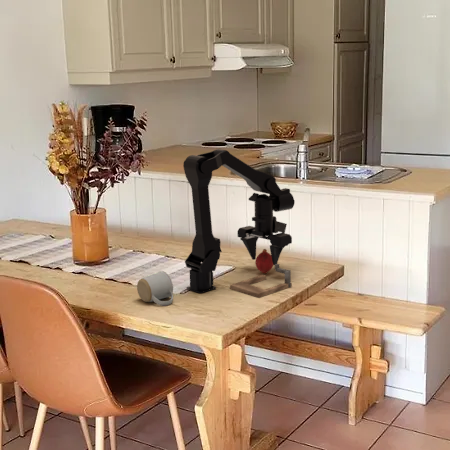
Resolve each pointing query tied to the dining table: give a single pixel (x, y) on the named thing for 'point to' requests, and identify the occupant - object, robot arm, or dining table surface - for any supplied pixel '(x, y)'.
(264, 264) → the onion
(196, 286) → the robot arm
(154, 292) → the ceramic mug
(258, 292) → the walnut board
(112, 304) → the dining table surface
